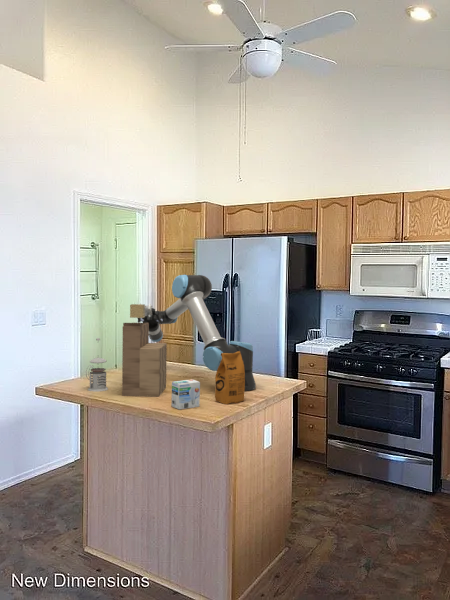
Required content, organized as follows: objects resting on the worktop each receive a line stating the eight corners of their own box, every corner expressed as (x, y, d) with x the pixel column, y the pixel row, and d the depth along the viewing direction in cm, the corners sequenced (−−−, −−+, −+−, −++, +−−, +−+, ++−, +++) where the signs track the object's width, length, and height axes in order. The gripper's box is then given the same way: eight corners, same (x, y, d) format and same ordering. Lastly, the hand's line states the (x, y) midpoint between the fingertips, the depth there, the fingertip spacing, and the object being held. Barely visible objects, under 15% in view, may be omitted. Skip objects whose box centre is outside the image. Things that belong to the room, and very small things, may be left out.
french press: (112, 388, 253) (112, 337, 252) (94, 393, 243) (94, 340, 242) (98, 386, 258) (98, 336, 257) (80, 390, 249) (80, 338, 247)
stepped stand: (132, 386, 258) (132, 319, 257) (166, 387, 258) (166, 320, 256) (122, 395, 239) (122, 323, 237) (158, 396, 238) (159, 324, 236)
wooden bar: (142, 313, 268) (142, 301, 267) (154, 313, 267) (154, 301, 267) (130, 317, 240) (130, 304, 239) (142, 317, 239) (143, 304, 239)
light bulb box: (178, 410, 215) (179, 384, 215) (170, 406, 221) (171, 381, 220) (200, 406, 222) (200, 381, 221) (191, 403, 227) (192, 378, 227)
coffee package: (211, 400, 232) (212, 351, 231) (234, 397, 239) (234, 349, 238) (224, 405, 224) (225, 354, 223) (247, 401, 231) (248, 352, 230)
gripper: (167, 332, 277) (161, 313, 256) (135, 331, 278) (126, 312, 257) (168, 319, 280) (162, 299, 259) (137, 319, 281) (128, 299, 260)
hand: (144, 306), depth 258 cm, fingers closed on wooden bar, 4 cm apart
